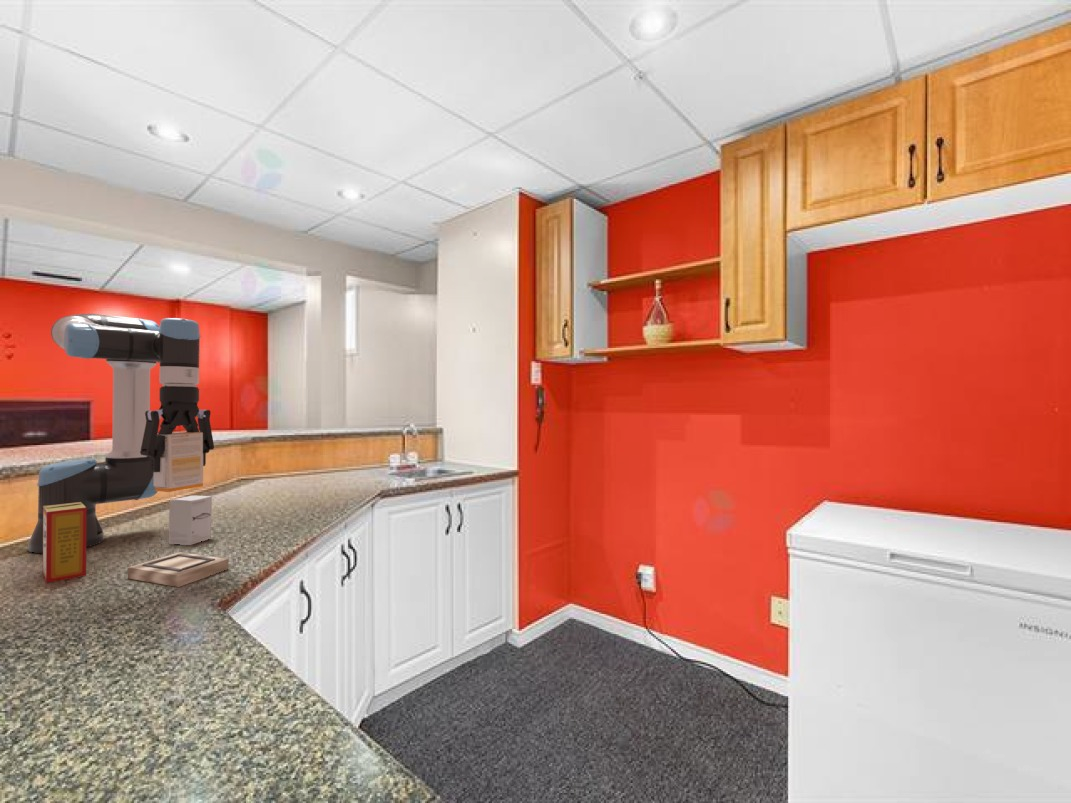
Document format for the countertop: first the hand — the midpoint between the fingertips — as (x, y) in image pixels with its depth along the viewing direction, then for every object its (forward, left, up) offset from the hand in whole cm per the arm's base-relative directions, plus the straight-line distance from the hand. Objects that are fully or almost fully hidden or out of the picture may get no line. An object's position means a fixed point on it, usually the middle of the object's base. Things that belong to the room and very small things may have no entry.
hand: (179, 483), depth 116 cm
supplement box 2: (-23, +20, -21) cm, 37 cm away
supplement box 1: (0, 0, -2) cm, 2 cm away
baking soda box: (-25, -9, -21) cm, 34 cm away
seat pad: (0, 0, -21) cm, 21 cm away
